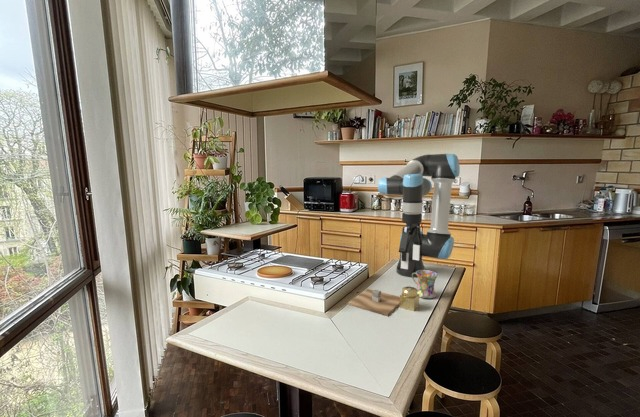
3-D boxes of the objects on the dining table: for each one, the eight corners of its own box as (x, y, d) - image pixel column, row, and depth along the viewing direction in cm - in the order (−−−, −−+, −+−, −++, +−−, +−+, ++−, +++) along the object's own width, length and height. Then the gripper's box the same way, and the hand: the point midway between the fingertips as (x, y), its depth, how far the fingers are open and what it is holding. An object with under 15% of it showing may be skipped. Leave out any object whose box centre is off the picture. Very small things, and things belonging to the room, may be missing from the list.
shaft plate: (367, 290, 145) (367, 280, 145) (404, 299, 135) (404, 289, 134) (347, 304, 131) (348, 293, 130) (387, 316, 120) (387, 304, 120)
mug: (440, 296, 138) (441, 273, 137) (429, 302, 132) (430, 278, 131) (417, 288, 147) (417, 267, 146) (405, 293, 141) (406, 271, 140)
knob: (404, 302, 133) (405, 284, 132) (418, 305, 129) (419, 287, 128) (399, 307, 128) (400, 289, 127) (413, 311, 124) (414, 292, 123)
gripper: (413, 208, 135) (411, 255, 138) (390, 216, 115) (389, 270, 118) (430, 209, 131) (428, 258, 134) (410, 217, 111) (408, 274, 114)
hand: (410, 264), depth 126 cm, fingers open, 13 cm apart
